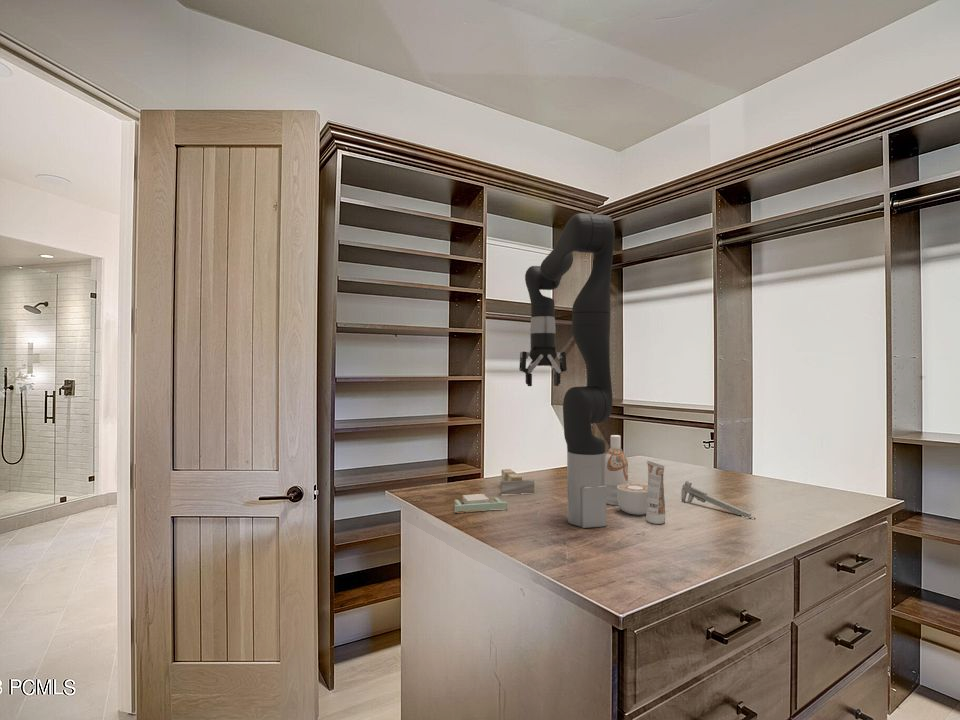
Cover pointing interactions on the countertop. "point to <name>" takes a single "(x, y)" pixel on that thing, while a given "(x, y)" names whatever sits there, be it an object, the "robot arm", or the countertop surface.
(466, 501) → the tile
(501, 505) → the tile stop
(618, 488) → the cosmetic set
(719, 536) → the countertop surface
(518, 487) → the grey rectangular block
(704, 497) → the caliper
